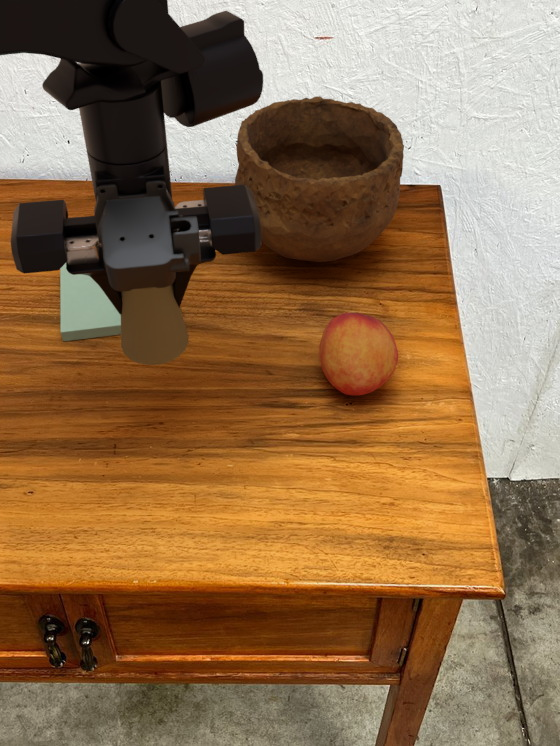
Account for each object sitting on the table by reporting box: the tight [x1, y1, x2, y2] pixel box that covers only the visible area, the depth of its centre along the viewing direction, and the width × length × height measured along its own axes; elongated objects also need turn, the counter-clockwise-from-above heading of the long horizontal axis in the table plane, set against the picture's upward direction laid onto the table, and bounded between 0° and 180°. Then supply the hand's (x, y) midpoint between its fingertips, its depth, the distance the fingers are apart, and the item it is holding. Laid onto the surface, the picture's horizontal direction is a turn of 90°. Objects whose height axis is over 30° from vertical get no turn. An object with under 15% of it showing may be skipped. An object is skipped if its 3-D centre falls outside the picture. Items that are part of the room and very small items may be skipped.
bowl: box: [234, 95, 405, 263], centre depth 89 cm, size 19×19×15 cm
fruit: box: [318, 312, 399, 396], centre depth 76 cm, size 8×8×8 cm
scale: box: [59, 263, 121, 342], centre depth 86 cm, size 12×13×3 cm
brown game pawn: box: [120, 283, 190, 366], centre depth 66 cm, size 6×6×11 cm
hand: (149, 308), depth 67 cm, fingers closed on brown game pawn, 4 cm apart
